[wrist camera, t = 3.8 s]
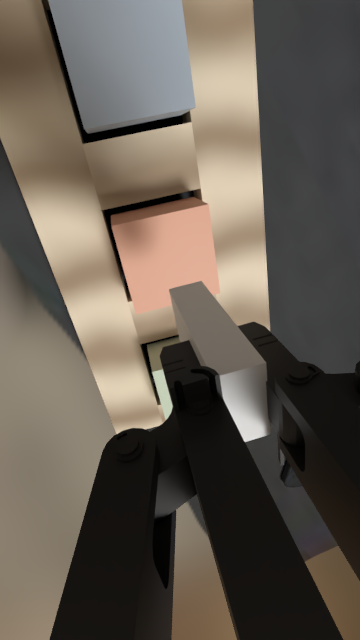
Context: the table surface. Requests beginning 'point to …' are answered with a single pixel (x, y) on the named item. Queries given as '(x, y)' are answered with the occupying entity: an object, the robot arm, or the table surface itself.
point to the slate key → (125, 60)
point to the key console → (137, 186)
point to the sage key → (161, 373)
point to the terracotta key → (165, 250)
